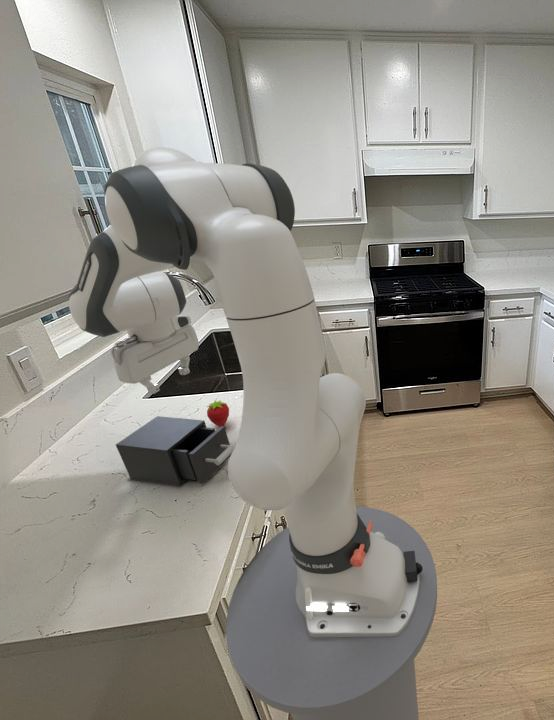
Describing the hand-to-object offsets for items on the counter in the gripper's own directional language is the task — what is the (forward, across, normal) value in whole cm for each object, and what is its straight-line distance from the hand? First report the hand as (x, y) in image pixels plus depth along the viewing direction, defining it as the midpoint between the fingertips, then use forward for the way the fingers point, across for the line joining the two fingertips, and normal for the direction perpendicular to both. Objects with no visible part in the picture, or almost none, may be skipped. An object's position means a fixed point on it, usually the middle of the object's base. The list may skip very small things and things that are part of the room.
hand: (170, 382), depth 92 cm
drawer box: (+23, -2, +6) cm, 24 cm away
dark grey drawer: (+23, -3, -3) cm, 23 cm away
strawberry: (+24, +16, +4) cm, 29 cm away
